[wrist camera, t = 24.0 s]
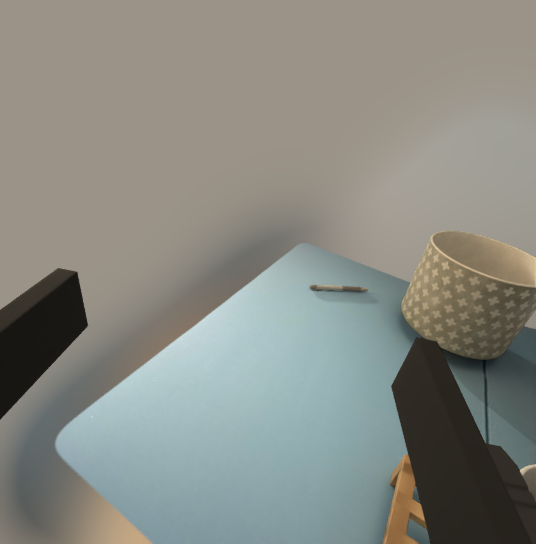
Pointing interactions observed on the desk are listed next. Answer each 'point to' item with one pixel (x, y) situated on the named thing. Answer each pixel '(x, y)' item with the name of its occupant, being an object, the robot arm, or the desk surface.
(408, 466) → the rack
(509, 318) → the planter
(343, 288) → the pen
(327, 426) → the desk surface
